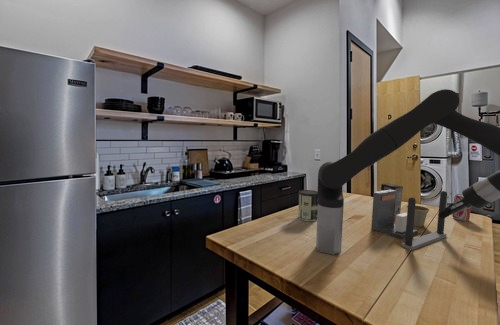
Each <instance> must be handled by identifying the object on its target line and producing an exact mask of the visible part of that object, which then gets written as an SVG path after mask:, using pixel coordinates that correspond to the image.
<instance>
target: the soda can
mask: <svg viewBox="0 0 500 325" xmlns="http://www.w3.org/2000/svg"><path fill="white" fill-rule="evenodd" d="M461 198H464V196H463V194H462V193H456V194H455V196H454V197H453V203H454V202H455V201H456V200H458V199H461ZM471 212H472V207H470V208H468V209H465V210H463V211H461V212H458V213H455V214H452V215H451V216H452V218H453V219H454V220H457V221H462V222H467V221H469V220H470V218H471Z"/></svg>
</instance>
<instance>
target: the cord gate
mask: <svg viewBox="0 0 500 325" xmlns="http://www.w3.org/2000/svg"><path fill="white" fill-rule="evenodd" d="M407 199H408V200H407V206H408V209H407V212H406V213H407V223H406V236H405V238H404V239H405V240H404V242H401V245H400V247H403V248H405V249H407V250H411V251H413V250H416V249H418V248H420V247H424V246H426V245H429V244H432V243H435V242H437V241H439V240H442V239H444V238H447V237H448V236H447V235H448V234H447V233H444V231H445V224H446V223H445V222H446V218H444V219H441V218H440V217H439V216H438V214H439V213H441V212H443V211H444V210H445V208H447V200H448V192H447V191H444V190H442V191H440V193H439V202H438V204H439V205H438V206H439V207H438V214H437V216H438V217H437V224H436V231H433V232H430V233H427V234H424V235H421V236H418V237H416V238H414V235H413V229H414V227H415V226H414V216H415V205H416V202H417V200H416V198H414V197H413V196H411V197H409V198H407Z"/></svg>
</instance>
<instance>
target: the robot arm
mask: <svg viewBox="0 0 500 325" xmlns="http://www.w3.org/2000/svg"><path fill="white" fill-rule="evenodd" d="M459 105H460V96H459V94H458V93H457V92H456V91H454V90H453V89H446V88H445V89H440V90H436V91H434V92H431V93H430V94H429V95H428V96H427V97H426V98H425V99H423V100H422V101H421V102H420V103H419V104H417V105H416V106H415V107H413V108H412V109H411V110H409V111H408V112H405V113H404V114H402V115H401V116H399V117H397V118H395V119H393V120H392V121H390V122H388V123H387V124H384V125H383V126H381V127H380V128H378V129H376V130H375V131H374V132H372V133H371V134H369V135H368V136H366V137H365V138H364V139H363V140H362V141H360V143H359V144H358V145H357V147H355V149H354V150H352V151H351V152H350V153H348V154H346V155H345V156H343V157H342V158H339V159H338V160H336V161H326V162H324V163H323V164H321V166H320V167H319V169H318V173H317V192H318V213H317V220H316V240H315V247H316V250H317V252H320V253H325V254H328V255H332V256H335V255H336V254H340V253H341V252H342V245H343V244H342V241H343V239H342V238H343V224H344V203H345V199H344V194H343V186H344V185H346V184H347V183H348V182H350V181H351V180H352V179H353V178H354V177H355V176H356V175H358V174H359V173H361V172H362V171H363V170H365V169H366V168H368V167H370V166H372V165H374V164H375V163H378V162H379V161H380V160H382V159H383V158H386V157H387V156H389V155H390V154H392V153H393V152H395V151H396V150H398V149H399V148H401V147H402V146H404V145H405V144H406V143H408V142H409V141H410V140H411V139H412V138H414V137H415V136H416V135H417V134H418V133H420V132H421V131H422V130H423V129H425V128H426V127H428V126H430V125H432V124H434V125H438V126H439V127H443V128H445V129H447V130H450V131H452V132H455V133H456V134H459V135H461V136H463V137H465V138H467V139H469V140H471V141H473V142H475V143H476V144H479V145H481V146H482V147H483V148H485V149H487V150H489V151H490V152H492V153H494V154H496V155H497V156H500V126H498V125H495V124H492V123H489V122H485V121H482V120H481V121H480V120H477V119H474V118H471V117H468V116H466V115H464V114H462V113H460V112H459V111H457V108H458V107H459ZM461 194H463V196H464V198H461V199H458V200H456V201H455V202H454V201H453V202H452V203H450V204H449V205H448V206H446V208H445V210H444V211H443V212H441V213H439V212H438V213H439V214H437V216H439V217H440V218H441V219H444V218H445V219H446V218H448V217H449V216H452V214H455V213H458V212H461V211H463V210H465V209H468V208H470V207H471V208H472V206H473V207H474V208H475V209H476V208H477V209H481V208H484V207H486V206H487V205H489V204H491V203H494V202H495V201H498V200H499V199H500V169H499V170H497V171H495V172H493V173H492V174H490V175H489V176H485V178H482V179H480V180H479V181H477V182H475V183H472V185H470V186H468V187H467V188H465V189H463V190H462V191H461Z"/></svg>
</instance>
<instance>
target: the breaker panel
mask: <svg viewBox="0 0 500 325" xmlns="http://www.w3.org/2000/svg"><path fill="white" fill-rule="evenodd" d="M395 203H396V190H384V191H381V190H377V191H374V192H373V198H372V210H371V212H372V215H371V230H375V231H378V232H379V233H383V234H386V235H389V236H391V237H394V238H397V239H399V240H403V239H405V236H406V231H405V232H402V233H401V232H398V231H395V217H396V215H395ZM415 235H419V230H418V229H414V228H413V236H415Z"/></svg>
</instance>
